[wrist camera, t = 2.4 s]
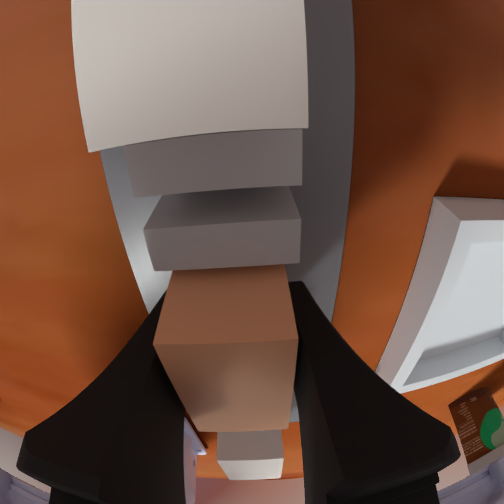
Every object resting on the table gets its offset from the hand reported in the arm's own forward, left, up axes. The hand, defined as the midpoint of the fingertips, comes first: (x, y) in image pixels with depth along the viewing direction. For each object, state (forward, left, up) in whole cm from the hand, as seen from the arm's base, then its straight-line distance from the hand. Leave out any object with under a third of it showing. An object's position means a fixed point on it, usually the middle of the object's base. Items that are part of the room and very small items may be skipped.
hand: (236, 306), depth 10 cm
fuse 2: (-9, 0, -1) cm, 9 cm away
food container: (-22, -26, -2) cm, 34 cm away
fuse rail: (0, 0, -2) cm, 2 cm away
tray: (-3, -14, -2) cm, 14 cm away
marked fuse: (0, 0, -1) cm, 1 cm away
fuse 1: (+9, 0, -1) cm, 9 cm away
